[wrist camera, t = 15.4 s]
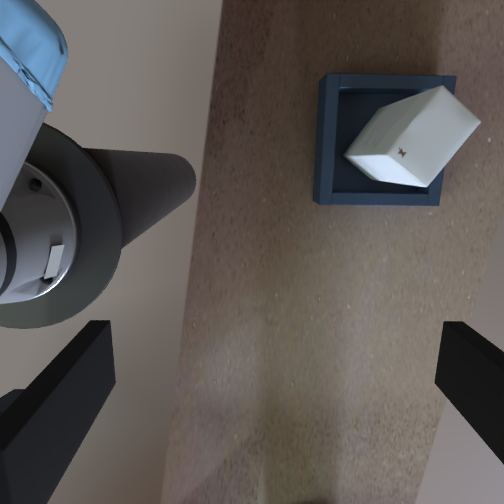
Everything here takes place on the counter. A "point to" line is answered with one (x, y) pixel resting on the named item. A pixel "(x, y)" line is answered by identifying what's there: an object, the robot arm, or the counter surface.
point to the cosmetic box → (412, 138)
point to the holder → (348, 128)
